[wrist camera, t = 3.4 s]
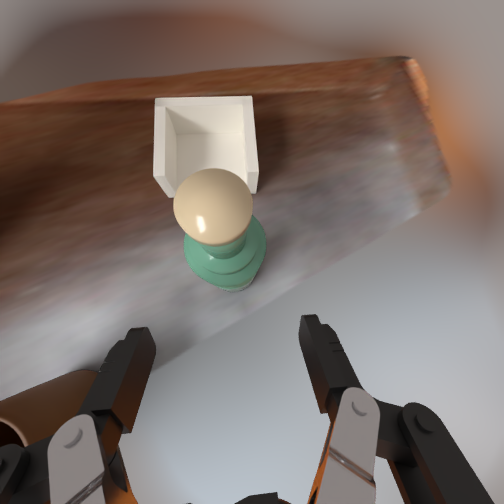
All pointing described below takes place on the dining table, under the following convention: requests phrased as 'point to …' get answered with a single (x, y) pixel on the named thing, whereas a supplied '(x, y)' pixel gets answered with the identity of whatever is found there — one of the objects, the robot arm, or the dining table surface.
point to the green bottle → (220, 228)
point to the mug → (43, 408)
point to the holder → (204, 139)
